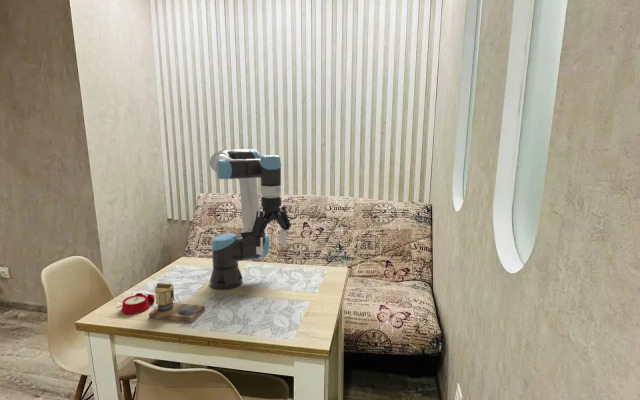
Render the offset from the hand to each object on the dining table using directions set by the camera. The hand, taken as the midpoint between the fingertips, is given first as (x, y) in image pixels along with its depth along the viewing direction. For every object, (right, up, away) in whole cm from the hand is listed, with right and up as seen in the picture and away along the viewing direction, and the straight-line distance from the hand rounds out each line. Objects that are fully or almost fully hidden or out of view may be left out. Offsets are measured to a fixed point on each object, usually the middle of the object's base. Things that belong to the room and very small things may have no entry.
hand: (272, 249), depth 144 cm
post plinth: (-38, -26, +2) cm, 46 cm away
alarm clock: (-56, -25, +9) cm, 62 cm away
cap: (-43, -21, +2) cm, 47 cm away
